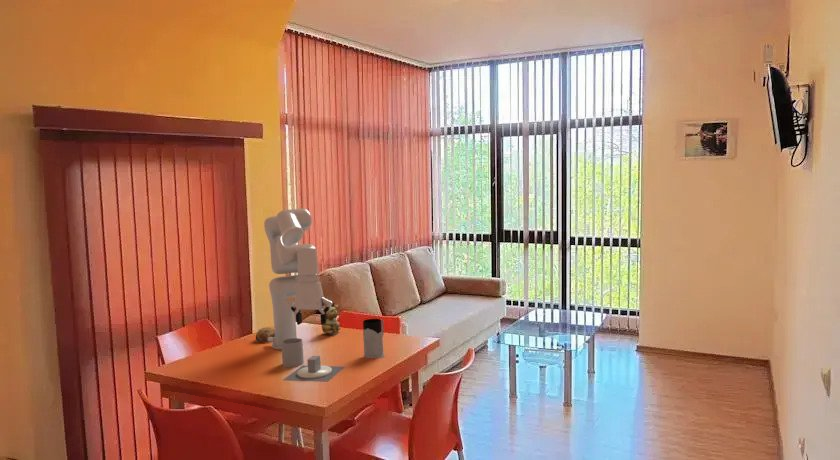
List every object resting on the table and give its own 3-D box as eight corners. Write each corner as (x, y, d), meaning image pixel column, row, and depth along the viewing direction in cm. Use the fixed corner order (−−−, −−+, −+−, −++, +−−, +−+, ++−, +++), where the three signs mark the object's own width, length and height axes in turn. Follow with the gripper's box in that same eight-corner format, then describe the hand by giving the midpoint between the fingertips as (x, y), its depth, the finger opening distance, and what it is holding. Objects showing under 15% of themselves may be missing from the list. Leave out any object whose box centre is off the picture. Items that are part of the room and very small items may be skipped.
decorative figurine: (333, 336, 297) (331, 305, 296) (317, 335, 300) (315, 304, 299) (342, 331, 306) (340, 301, 305) (327, 330, 309) (326, 300, 308)
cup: (306, 362, 258) (304, 338, 257) (300, 368, 250) (299, 343, 249) (286, 362, 259) (284, 338, 258) (279, 368, 250) (278, 343, 250)
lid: (291, 378, 235) (290, 362, 235) (305, 367, 248) (304, 352, 247) (324, 379, 232) (323, 363, 232) (336, 368, 245) (335, 353, 244)
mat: (282, 381, 233) (282, 380, 233) (302, 366, 251) (302, 365, 251) (327, 383, 229) (327, 381, 229) (345, 368, 247) (345, 366, 247)
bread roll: (255, 347, 299) (248, 334, 296) (271, 334, 305) (264, 321, 302) (267, 350, 292) (260, 337, 289) (283, 337, 298) (276, 323, 295)
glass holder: (359, 358, 259) (357, 322, 257) (375, 349, 271) (373, 315, 270) (378, 360, 255) (376, 323, 254) (394, 350, 268) (392, 315, 267)
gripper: (282, 281, 235) (286, 326, 237) (326, 280, 231) (329, 326, 232) (291, 277, 243) (294, 321, 244) (333, 277, 238) (336, 321, 240)
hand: (311, 323), depth 238 cm, fingers open, 9 cm apart
